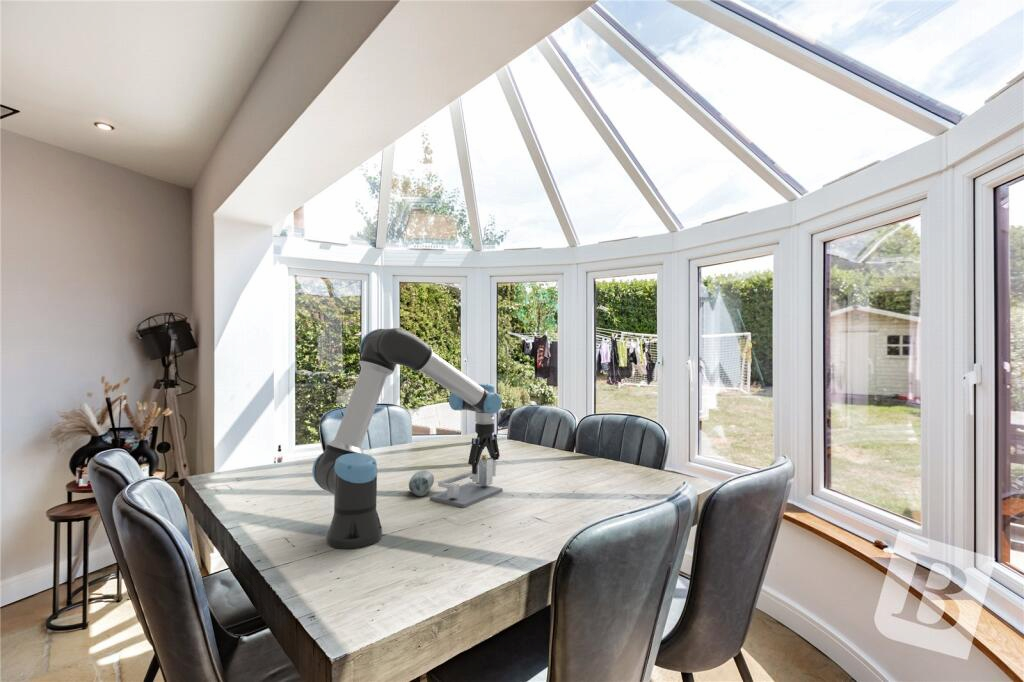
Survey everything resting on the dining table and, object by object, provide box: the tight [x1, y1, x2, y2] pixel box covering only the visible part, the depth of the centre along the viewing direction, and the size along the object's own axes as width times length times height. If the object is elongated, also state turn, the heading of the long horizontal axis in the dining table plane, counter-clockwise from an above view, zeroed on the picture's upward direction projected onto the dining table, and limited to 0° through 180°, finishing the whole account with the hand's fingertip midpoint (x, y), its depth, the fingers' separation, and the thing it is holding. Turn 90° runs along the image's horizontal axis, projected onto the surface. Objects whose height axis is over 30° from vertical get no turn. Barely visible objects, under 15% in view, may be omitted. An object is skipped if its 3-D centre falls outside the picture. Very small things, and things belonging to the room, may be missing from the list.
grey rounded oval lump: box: [408, 469, 435, 497], centre depth 182 cm, size 14×10×10 cm
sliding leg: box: [469, 454, 493, 486], centre depth 187 cm, size 4×9×12 cm, turn 57°
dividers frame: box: [437, 470, 472, 499], centre depth 180 cm, size 24×9×5 cm, turn 147°
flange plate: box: [429, 481, 503, 509], centre depth 179 cm, size 24×16×1 cm, turn 147°
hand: (484, 478), depth 186 cm, fingers open, 10 cm apart
